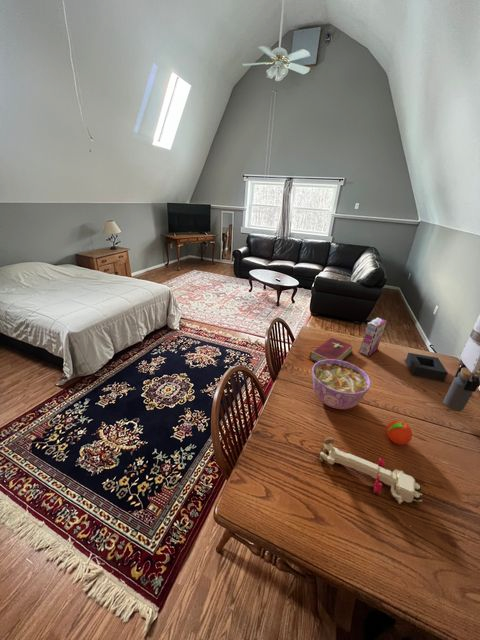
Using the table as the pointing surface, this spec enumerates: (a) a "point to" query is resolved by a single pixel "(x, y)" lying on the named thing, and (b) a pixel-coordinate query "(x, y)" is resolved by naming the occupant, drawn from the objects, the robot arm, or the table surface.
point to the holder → (426, 366)
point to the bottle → (458, 391)
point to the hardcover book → (331, 350)
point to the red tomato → (399, 432)
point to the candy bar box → (372, 336)
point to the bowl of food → (339, 383)
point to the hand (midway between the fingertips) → (464, 383)
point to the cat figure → (375, 473)
